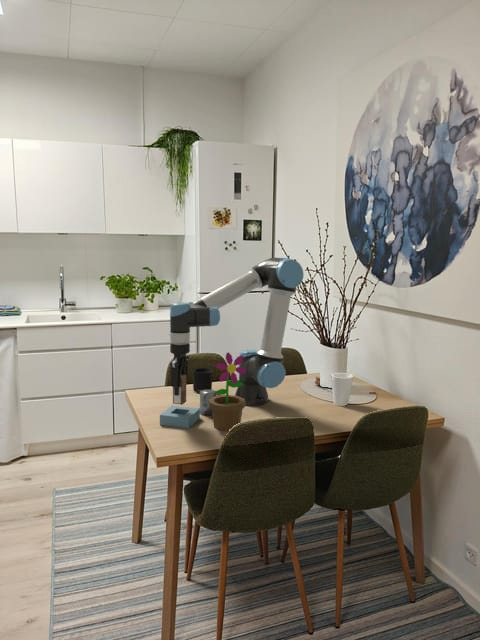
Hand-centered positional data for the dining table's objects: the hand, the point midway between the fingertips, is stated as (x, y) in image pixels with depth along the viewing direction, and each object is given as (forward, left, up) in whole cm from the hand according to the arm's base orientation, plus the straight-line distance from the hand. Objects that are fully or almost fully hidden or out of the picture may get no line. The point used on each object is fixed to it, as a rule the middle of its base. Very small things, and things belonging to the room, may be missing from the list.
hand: (179, 401), depth 200 cm
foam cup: (-59, -43, -9) cm, 74 cm away
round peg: (-7, -13, -8) cm, 17 cm away
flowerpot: (-19, -1, -9) cm, 21 cm away
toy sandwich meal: (-50, -71, -9) cm, 88 cm away
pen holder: (+6, -42, -9) cm, 43 cm away
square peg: (0, 0, -1) cm, 1 cm away
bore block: (0, 0, -8) cm, 8 cm away
